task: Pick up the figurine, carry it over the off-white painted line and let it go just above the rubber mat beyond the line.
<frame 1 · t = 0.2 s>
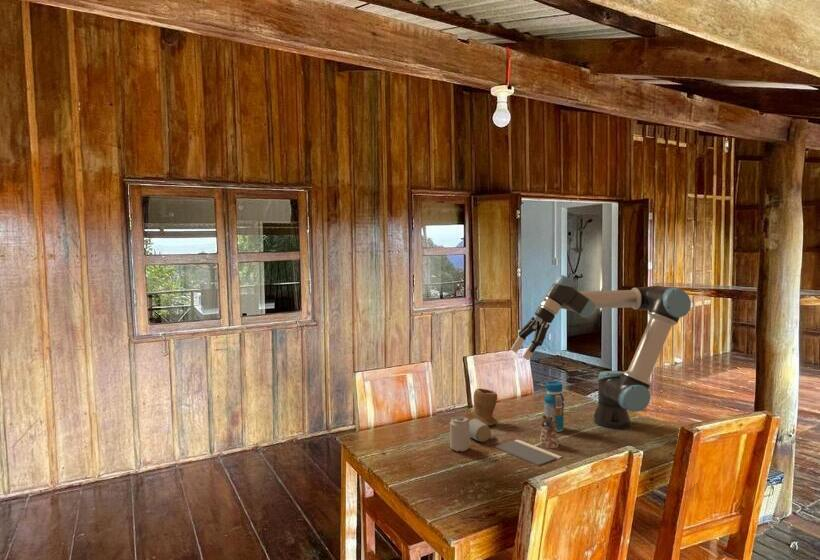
hand: (519, 354, 216), 35 cm above the table, tool tilted 35°, fingers open, 13 cm apart
can: (459, 449, 208), on the table
ceramic mug: (481, 439, 219), on the table
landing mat: (524, 453, 203), on the table
figurine: (549, 445, 212), on the table
beverage bottle: (553, 429, 230), on the table
brown boot planter: (480, 422, 239), on the table
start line: (537, 449, 207), on the table
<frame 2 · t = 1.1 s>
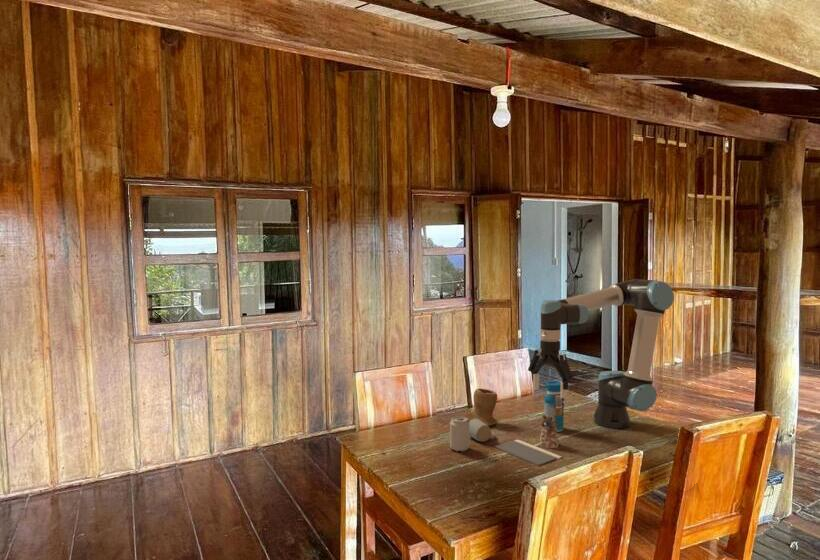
hand: (549, 393, 210), 21 cm above the table, tool pointing down, fingers open, 13 cm apart
nothing on the table moved.
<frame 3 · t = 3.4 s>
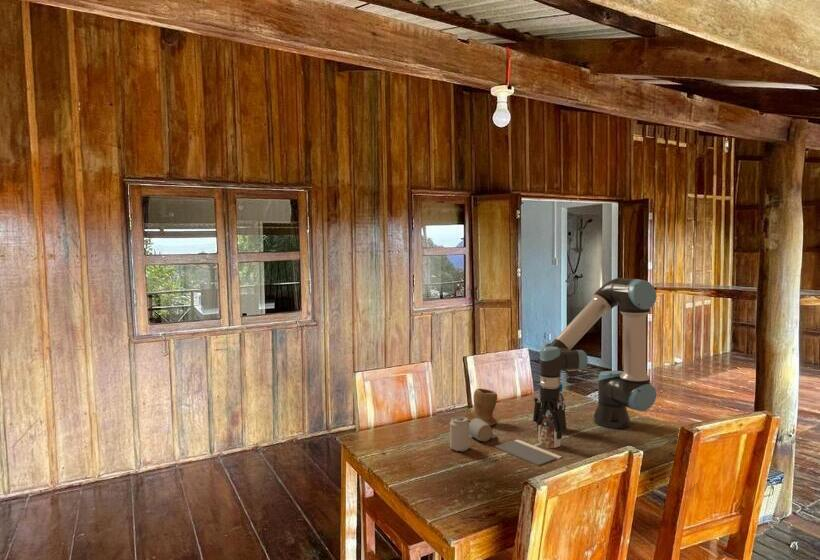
hand: (549, 443, 211), 1 cm above the table, tool pointing down, fingers closed on figurine, 7 cm apart
figurine: (549, 445, 212), on the table, touching gripper
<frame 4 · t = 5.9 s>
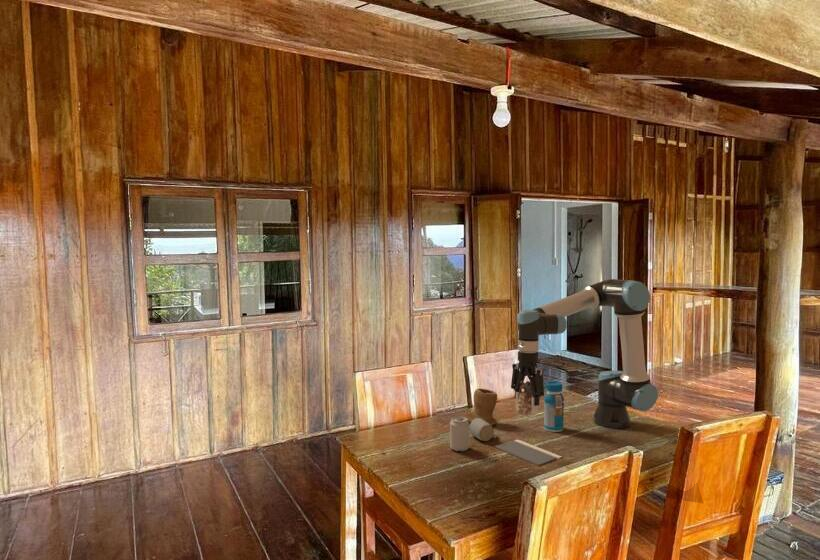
hand: (526, 410, 203), 16 cm above the table, tool pointing down, fingers closed on figurine, 7 cm apart
figurine: (526, 412, 203), point 15 cm above the table, touching gripper
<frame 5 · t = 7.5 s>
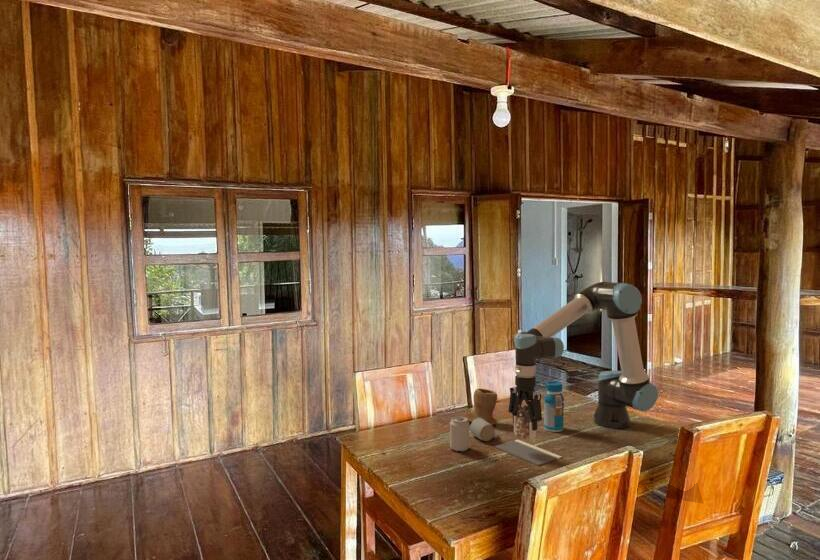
hand: (524, 435, 203), 7 cm above the table, tool pointing down, fingers closed on figurine, 7 cm apart
figurine: (524, 437, 203), point 6 cm above the table, touching gripper
when the fingers open (3 cm above the table, at t = 8.7 s): figurine drops 2 cm, resting on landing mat.
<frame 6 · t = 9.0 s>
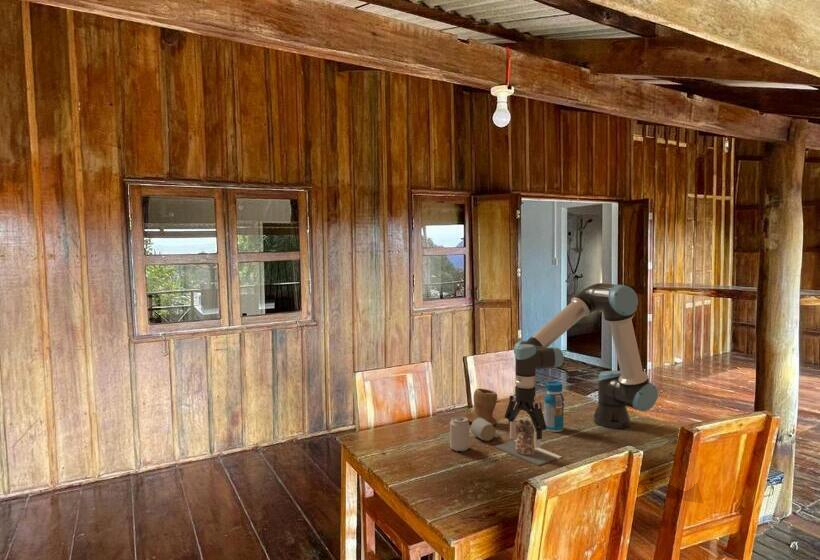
hand: (524, 442, 203), 4 cm above the table, tool pointing down, fingers open, 11 cm apart
figurine: (524, 451, 203), resting on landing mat
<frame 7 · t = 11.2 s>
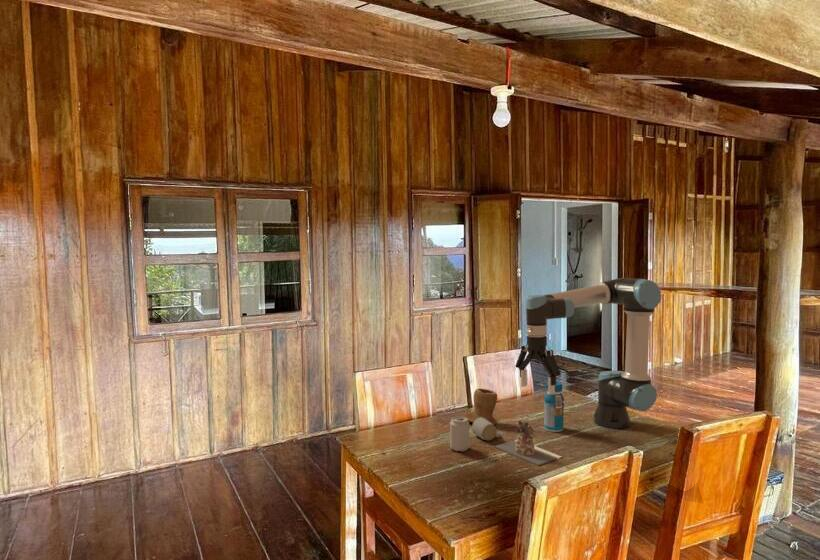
hand: (537, 389, 208), 23 cm above the table, tool pointing down, fingers open, 13 cm apart
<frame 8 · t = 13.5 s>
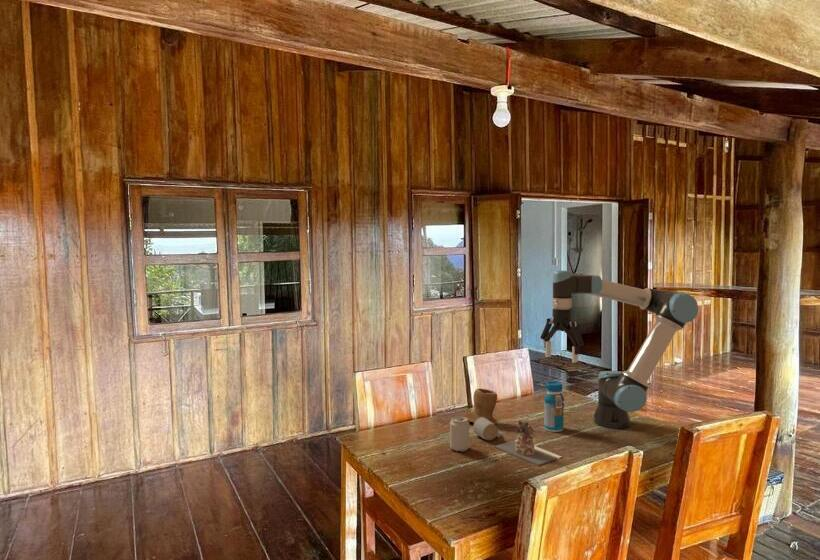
hand: (561, 359, 221), 32 cm above the table, tool pointing down, fingers open, 13 cm apart
at the end: figurine inside the target area (1.0 cm from its centre), resting on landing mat; the gripper is holding nothing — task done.
